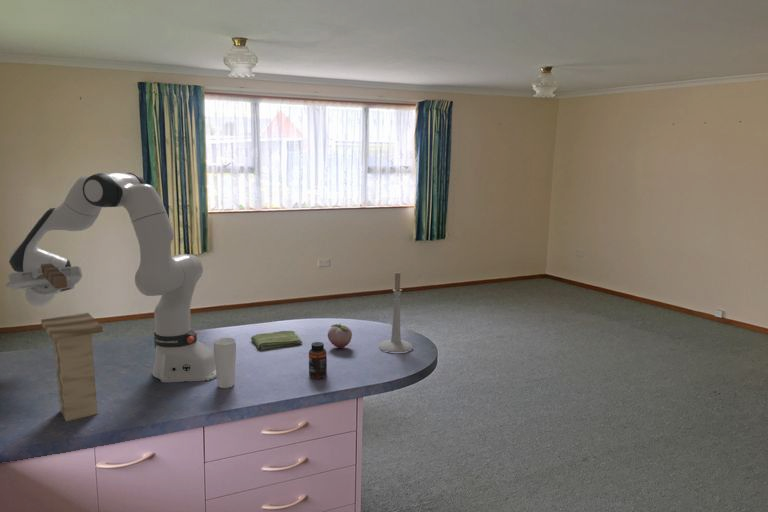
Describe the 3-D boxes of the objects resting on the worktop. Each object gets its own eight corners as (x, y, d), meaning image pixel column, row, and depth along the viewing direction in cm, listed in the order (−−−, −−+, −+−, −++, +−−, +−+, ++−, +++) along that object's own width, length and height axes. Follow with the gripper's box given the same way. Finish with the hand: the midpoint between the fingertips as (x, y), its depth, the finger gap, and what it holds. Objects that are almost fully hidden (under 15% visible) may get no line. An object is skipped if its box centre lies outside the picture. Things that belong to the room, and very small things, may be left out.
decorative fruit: (356, 347, 223) (357, 322, 221) (343, 353, 216) (344, 327, 215) (336, 342, 228) (337, 317, 226) (323, 348, 221) (323, 323, 219)
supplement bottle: (329, 373, 198) (329, 342, 196) (322, 380, 192) (322, 347, 190) (313, 371, 200) (313, 339, 197) (305, 377, 194) (305, 345, 192)
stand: (49, 407, 169) (41, 319, 164) (94, 397, 176) (88, 312, 171) (61, 429, 157) (52, 335, 152) (109, 417, 164) (102, 326, 159)
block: (41, 273, 183) (40, 264, 183) (52, 272, 185) (51, 263, 184) (55, 288, 166) (54, 278, 166) (67, 287, 168) (66, 277, 168)
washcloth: (304, 345, 225) (304, 337, 225) (258, 352, 217) (258, 344, 217) (293, 335, 237) (293, 327, 236) (249, 341, 229) (249, 333, 228)
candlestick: (389, 356, 215) (391, 276, 210) (373, 345, 226) (374, 269, 220) (418, 350, 222) (421, 273, 216) (401, 340, 233) (403, 266, 227)
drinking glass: (217, 381, 190) (215, 337, 187) (238, 381, 190) (237, 337, 187) (212, 390, 183) (211, 344, 180) (235, 390, 184) (233, 344, 181)
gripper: (4, 278, 186) (7, 263, 175) (75, 270, 198) (82, 256, 188) (7, 297, 184) (10, 283, 174) (79, 288, 197) (86, 274, 186)
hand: (48, 269), depth 181 cm, fingers closed on block, 3 cm apart
